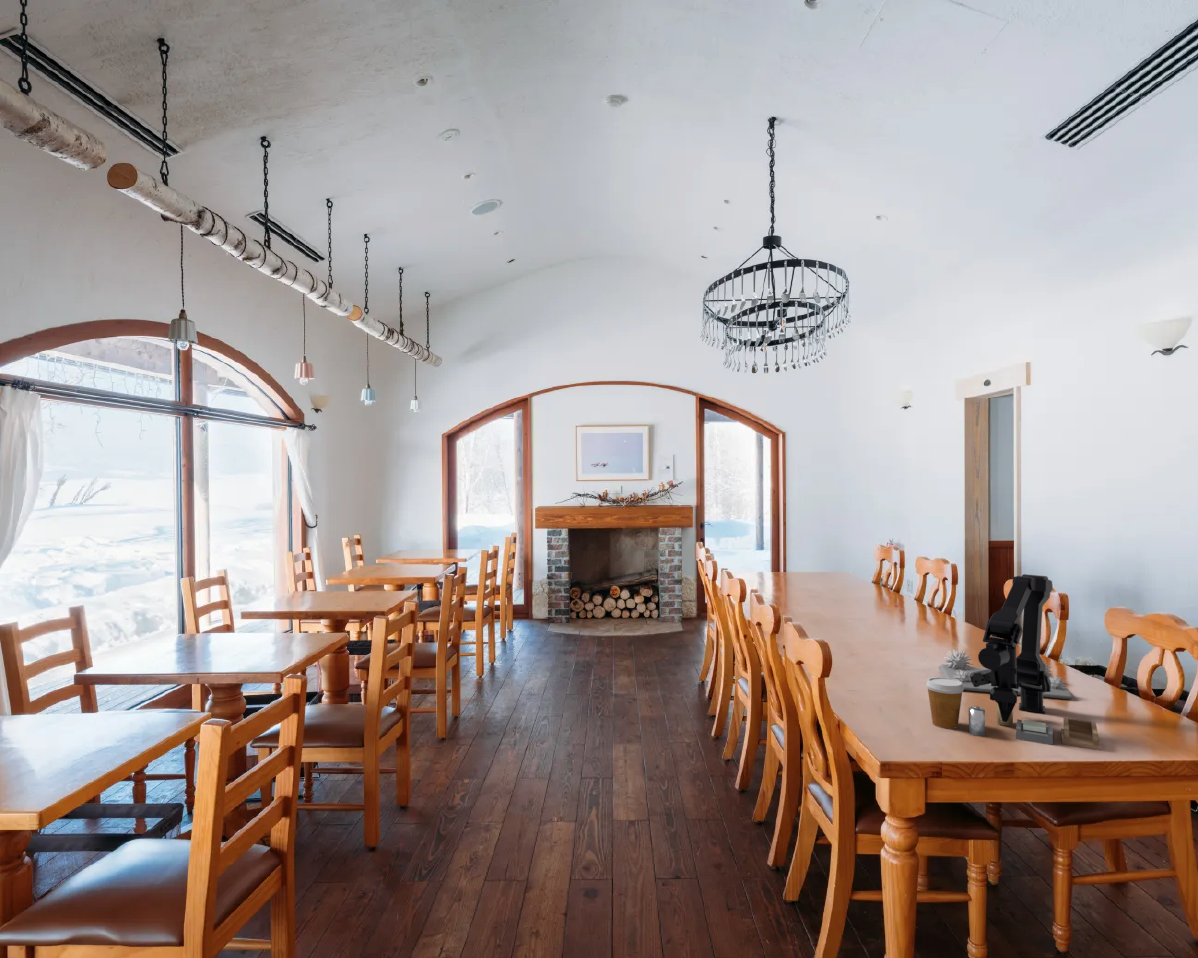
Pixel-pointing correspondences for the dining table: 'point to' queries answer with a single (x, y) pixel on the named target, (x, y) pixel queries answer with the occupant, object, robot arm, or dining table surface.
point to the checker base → (1034, 734)
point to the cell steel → (976, 721)
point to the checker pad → (1034, 726)
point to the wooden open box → (1080, 734)
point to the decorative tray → (962, 671)
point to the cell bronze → (999, 719)
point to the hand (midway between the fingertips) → (1005, 719)
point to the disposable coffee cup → (945, 701)
